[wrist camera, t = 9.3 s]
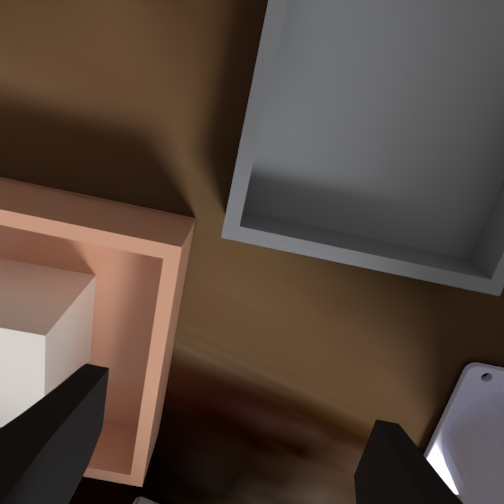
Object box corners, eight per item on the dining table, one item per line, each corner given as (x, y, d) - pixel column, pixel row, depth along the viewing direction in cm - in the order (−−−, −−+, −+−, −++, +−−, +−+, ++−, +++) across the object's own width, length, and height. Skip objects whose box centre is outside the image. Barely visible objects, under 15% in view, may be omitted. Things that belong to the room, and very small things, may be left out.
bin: (195, 218, 20) (181, 247, 17) (158, 431, 24) (142, 487, 21) (-89, 157, 19) (-161, 175, 16) (-73, 387, 24) (-126, 438, 21)
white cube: (95, 275, 21) (45, 335, 16) (90, 358, 22) (43, 434, 18) (-5, 257, 20) (-86, 312, 16) (-3, 341, 22) (-75, 414, 17)
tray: (594, -11, 16) (649, -25, 14) (473, 270, 20) (499, 296, 18) (287, -87, 16) (290, -114, 13) (226, 218, 20) (221, 237, 18)
